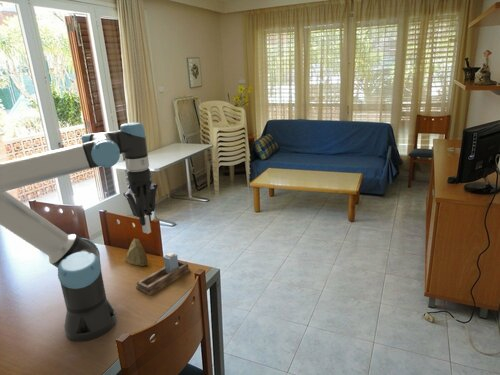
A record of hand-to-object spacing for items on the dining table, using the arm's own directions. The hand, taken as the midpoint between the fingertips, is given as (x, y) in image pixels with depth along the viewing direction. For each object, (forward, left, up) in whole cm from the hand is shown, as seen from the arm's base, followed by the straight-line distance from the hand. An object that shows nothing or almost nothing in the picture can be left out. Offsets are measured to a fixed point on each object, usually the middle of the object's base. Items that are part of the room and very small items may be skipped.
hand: (146, 232), depth 131 cm
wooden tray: (+5, 0, -22) cm, 22 cm away
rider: (+9, 0, -21) cm, 23 cm away
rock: (+7, +20, -22) cm, 31 cm away
